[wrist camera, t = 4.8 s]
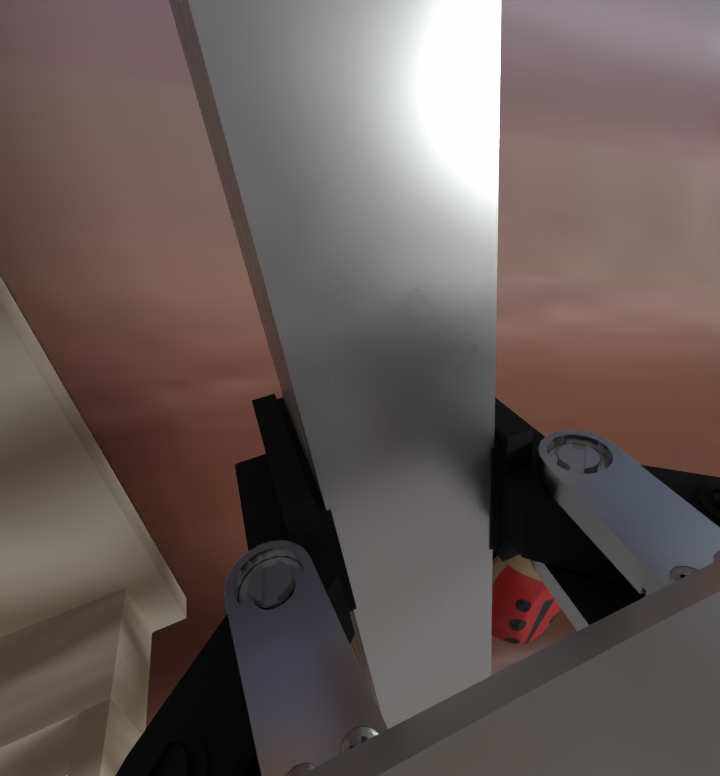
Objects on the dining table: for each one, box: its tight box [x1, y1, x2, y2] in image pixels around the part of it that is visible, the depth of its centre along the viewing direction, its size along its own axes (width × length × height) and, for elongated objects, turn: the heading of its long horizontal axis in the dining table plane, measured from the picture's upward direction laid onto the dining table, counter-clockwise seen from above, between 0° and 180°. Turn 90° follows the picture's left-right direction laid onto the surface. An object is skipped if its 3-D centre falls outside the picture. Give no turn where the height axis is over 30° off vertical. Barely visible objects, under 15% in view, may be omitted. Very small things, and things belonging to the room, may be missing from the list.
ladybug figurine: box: [491, 554, 561, 644], centre depth 31 cm, size 7×10×4 cm
